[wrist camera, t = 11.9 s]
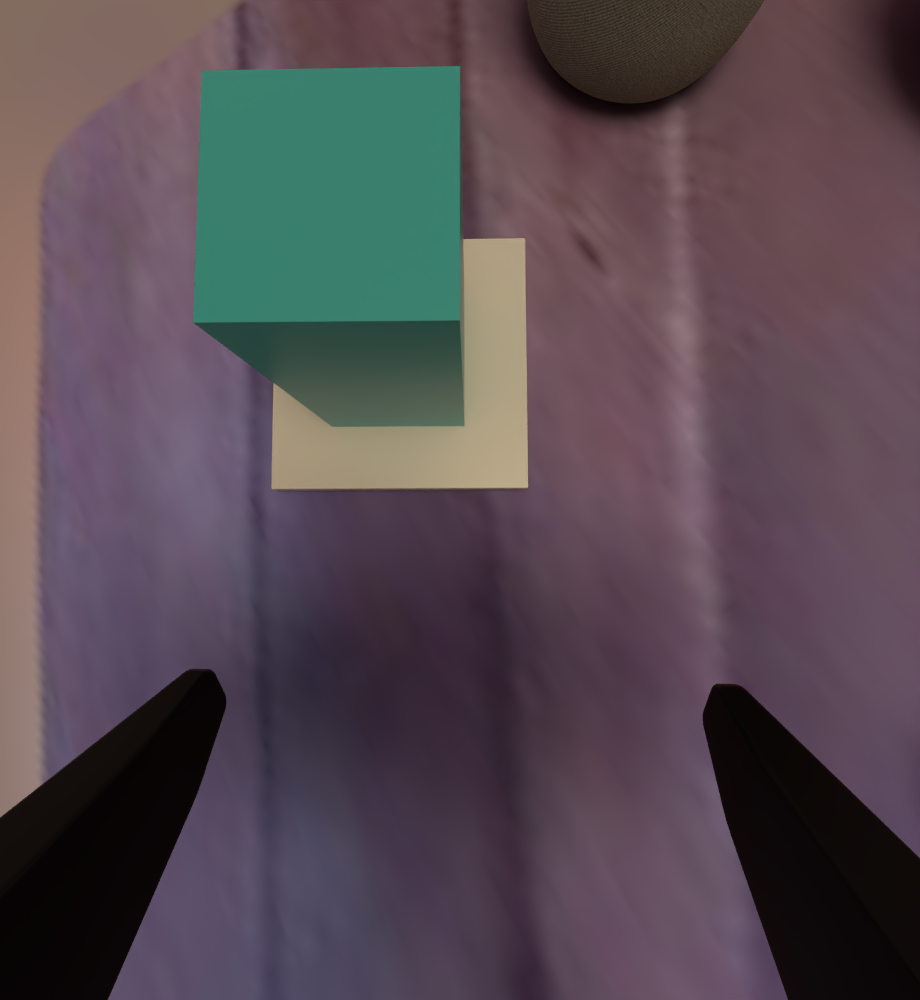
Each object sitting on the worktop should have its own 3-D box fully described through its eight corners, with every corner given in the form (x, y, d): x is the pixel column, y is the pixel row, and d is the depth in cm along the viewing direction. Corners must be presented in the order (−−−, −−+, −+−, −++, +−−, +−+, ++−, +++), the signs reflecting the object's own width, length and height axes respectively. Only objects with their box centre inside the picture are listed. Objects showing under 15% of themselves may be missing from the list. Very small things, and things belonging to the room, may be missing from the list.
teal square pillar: (464, 426, 19) (460, 320, 9) (332, 426, 19) (193, 322, 9) (464, 296, 19) (460, 65, 10) (334, 298, 19) (201, 71, 10)
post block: (525, 489, 20) (544, 475, 15) (279, 490, 20) (215, 477, 15) (522, 249, 20) (540, 157, 15) (283, 253, 20) (223, 163, 15)
